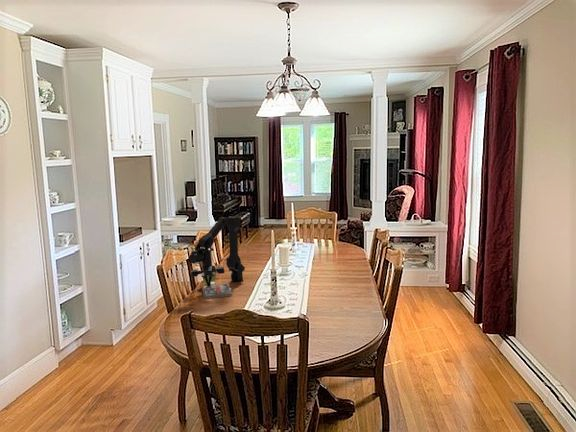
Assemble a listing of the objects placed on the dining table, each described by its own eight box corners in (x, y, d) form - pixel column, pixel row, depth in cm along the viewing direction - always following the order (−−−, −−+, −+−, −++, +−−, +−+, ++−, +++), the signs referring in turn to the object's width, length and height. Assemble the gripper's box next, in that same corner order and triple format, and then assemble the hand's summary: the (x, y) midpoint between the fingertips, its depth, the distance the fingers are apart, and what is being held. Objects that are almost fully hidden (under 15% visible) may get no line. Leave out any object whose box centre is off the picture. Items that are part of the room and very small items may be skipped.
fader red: (220, 290, 255) (219, 285, 254) (220, 292, 251) (220, 287, 251) (215, 291, 254) (215, 285, 254) (216, 292, 251) (215, 287, 250)
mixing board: (228, 286, 268) (228, 281, 267) (232, 295, 250) (231, 290, 250) (202, 289, 264) (201, 285, 264) (204, 298, 247) (203, 293, 247)
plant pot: (202, 288, 266) (201, 274, 265) (201, 284, 275) (200, 270, 274) (218, 286, 268) (217, 272, 267) (217, 282, 277) (216, 268, 276)
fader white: (215, 286, 263) (214, 281, 263) (215, 288, 260) (215, 283, 259) (210, 287, 263) (210, 282, 262) (211, 288, 259) (210, 283, 259)
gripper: (190, 264, 248) (192, 292, 251) (224, 261, 253) (226, 288, 255) (189, 260, 259) (191, 286, 261) (222, 256, 263) (224, 282, 266)
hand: (208, 286), depth 260 cm, fingers closed
